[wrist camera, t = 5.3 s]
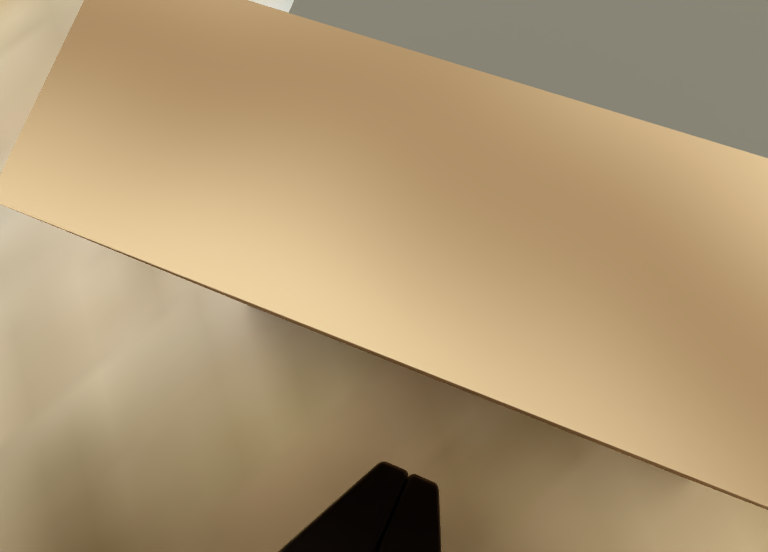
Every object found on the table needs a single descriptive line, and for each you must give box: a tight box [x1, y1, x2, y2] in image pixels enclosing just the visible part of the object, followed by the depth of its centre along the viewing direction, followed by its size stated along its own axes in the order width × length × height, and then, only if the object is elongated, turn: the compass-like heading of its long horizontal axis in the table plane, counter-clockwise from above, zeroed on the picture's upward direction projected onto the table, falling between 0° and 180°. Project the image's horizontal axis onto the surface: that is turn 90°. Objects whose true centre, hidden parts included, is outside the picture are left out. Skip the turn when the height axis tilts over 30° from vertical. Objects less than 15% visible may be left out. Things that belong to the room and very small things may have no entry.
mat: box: [289, 0, 768, 158], centre depth 18 cm, size 13×16×1 cm
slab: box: [0, 0, 768, 510], centre depth 12 cm, size 4×12×10 cm, turn 68°
